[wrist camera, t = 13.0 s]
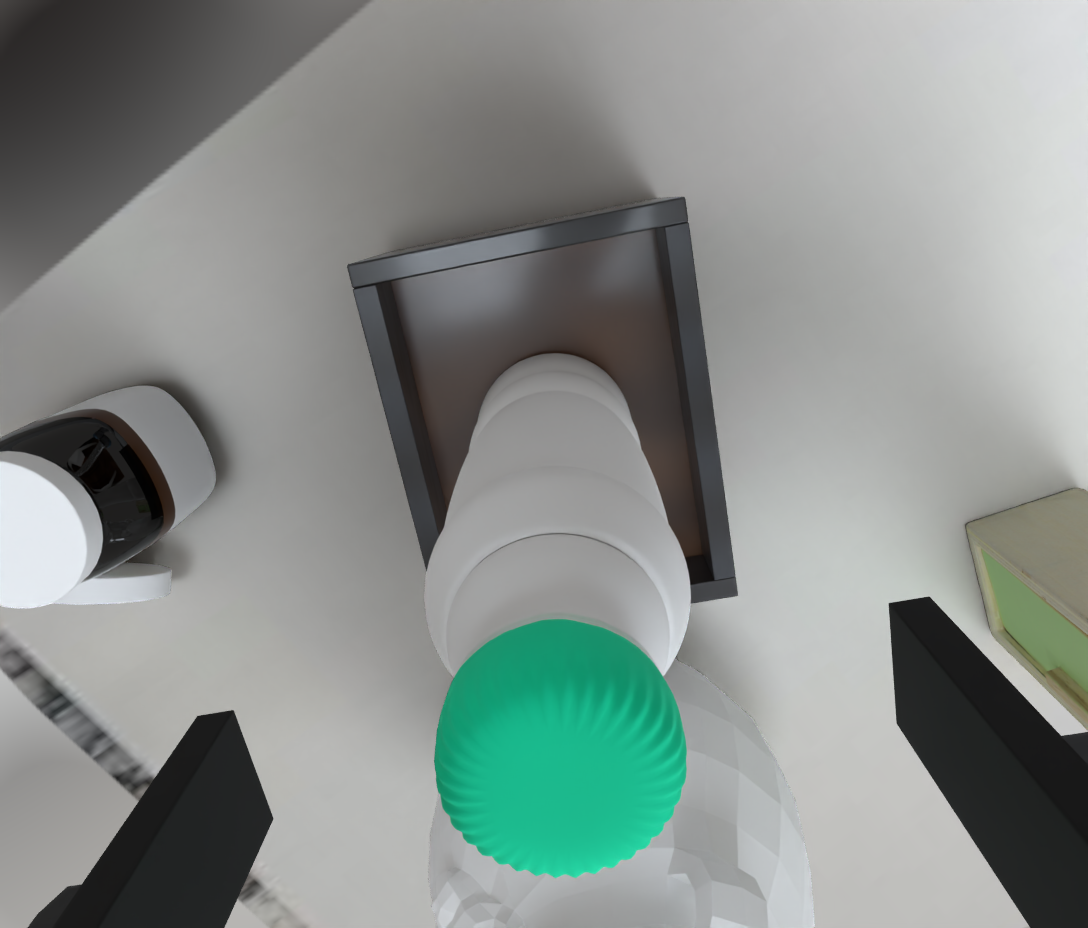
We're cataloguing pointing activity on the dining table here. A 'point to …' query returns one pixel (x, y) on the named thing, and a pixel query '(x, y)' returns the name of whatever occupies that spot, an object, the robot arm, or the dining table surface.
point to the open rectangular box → (552, 327)
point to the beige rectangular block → (1040, 590)
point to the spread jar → (97, 498)
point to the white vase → (660, 847)
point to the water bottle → (558, 628)
